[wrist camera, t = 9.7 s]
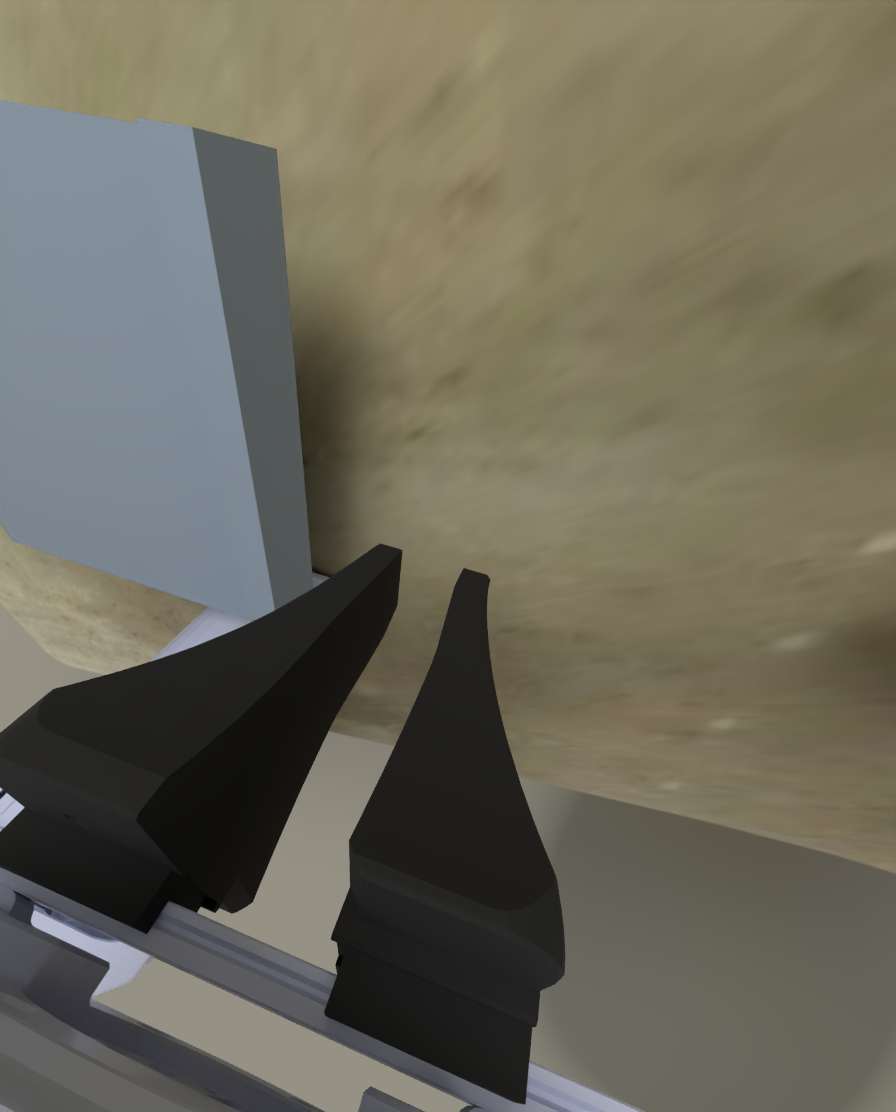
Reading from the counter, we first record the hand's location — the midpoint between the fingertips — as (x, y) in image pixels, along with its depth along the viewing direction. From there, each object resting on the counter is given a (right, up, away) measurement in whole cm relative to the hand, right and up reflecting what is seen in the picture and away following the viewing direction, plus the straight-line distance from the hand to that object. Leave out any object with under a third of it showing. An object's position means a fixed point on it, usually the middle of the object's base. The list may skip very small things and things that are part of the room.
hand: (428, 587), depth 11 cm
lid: (-12, +6, +5) cm, 14 cm away
